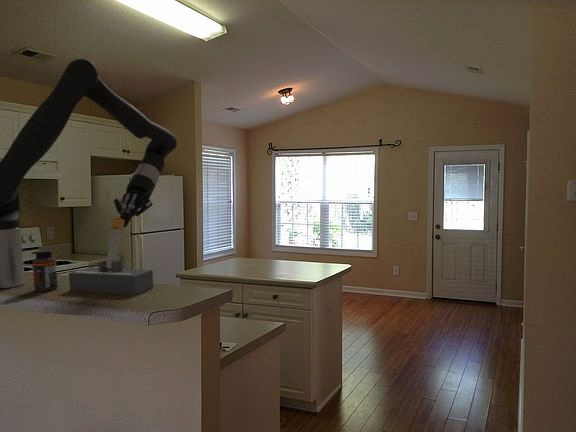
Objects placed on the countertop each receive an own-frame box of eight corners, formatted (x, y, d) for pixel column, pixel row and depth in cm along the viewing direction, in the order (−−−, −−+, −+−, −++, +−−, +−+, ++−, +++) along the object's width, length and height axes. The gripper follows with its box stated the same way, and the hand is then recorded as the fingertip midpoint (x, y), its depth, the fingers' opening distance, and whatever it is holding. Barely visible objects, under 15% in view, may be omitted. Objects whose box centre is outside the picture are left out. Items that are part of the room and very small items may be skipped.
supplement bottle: (30, 291, 138) (26, 251, 137) (48, 286, 143) (46, 248, 142) (43, 293, 135) (40, 252, 134) (62, 288, 140) (59, 249, 139)
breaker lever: (103, 269, 136) (112, 218, 140) (107, 270, 137) (116, 220, 141) (111, 270, 135) (120, 218, 139) (115, 271, 137) (124, 220, 140)
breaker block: (70, 290, 137) (67, 262, 136) (90, 284, 144) (88, 257, 144) (135, 294, 130) (134, 264, 129) (153, 287, 137) (151, 259, 136)
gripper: (119, 174, 151) (95, 217, 140) (156, 172, 146) (134, 217, 136) (131, 190, 156) (109, 233, 146) (167, 189, 152) (146, 233, 142)
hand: (121, 225), depth 141 cm, fingers closed
